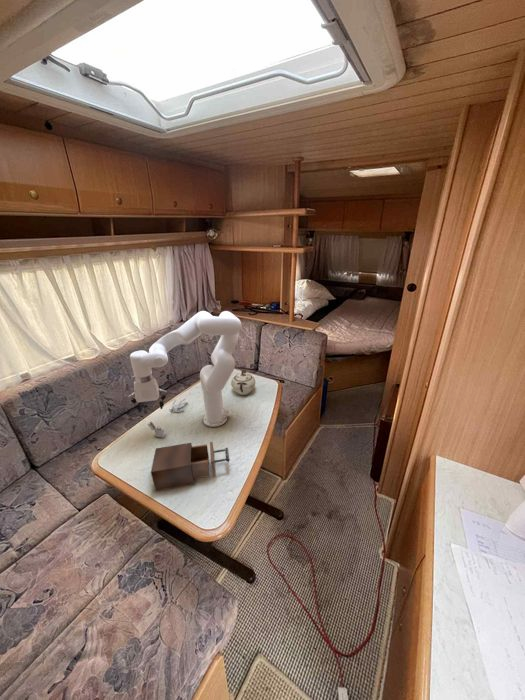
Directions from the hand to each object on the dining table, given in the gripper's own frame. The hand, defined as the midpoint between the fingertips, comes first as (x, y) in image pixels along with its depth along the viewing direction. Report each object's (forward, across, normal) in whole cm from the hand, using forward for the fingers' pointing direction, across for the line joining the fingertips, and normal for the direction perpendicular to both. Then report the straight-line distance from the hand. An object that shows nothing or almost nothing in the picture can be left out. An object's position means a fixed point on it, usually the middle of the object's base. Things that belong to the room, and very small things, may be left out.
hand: (151, 408), depth 130 cm
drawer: (+15, +24, -27) cm, 39 cm away
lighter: (+16, 0, 0) cm, 16 cm away
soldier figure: (+16, +9, +21) cm, 28 cm away
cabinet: (+16, +11, -27) cm, 33 cm away
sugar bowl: (+16, +48, +30) cm, 59 cm away
